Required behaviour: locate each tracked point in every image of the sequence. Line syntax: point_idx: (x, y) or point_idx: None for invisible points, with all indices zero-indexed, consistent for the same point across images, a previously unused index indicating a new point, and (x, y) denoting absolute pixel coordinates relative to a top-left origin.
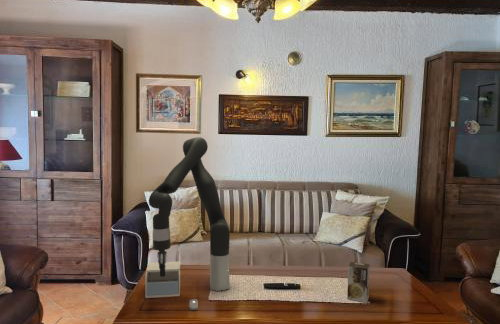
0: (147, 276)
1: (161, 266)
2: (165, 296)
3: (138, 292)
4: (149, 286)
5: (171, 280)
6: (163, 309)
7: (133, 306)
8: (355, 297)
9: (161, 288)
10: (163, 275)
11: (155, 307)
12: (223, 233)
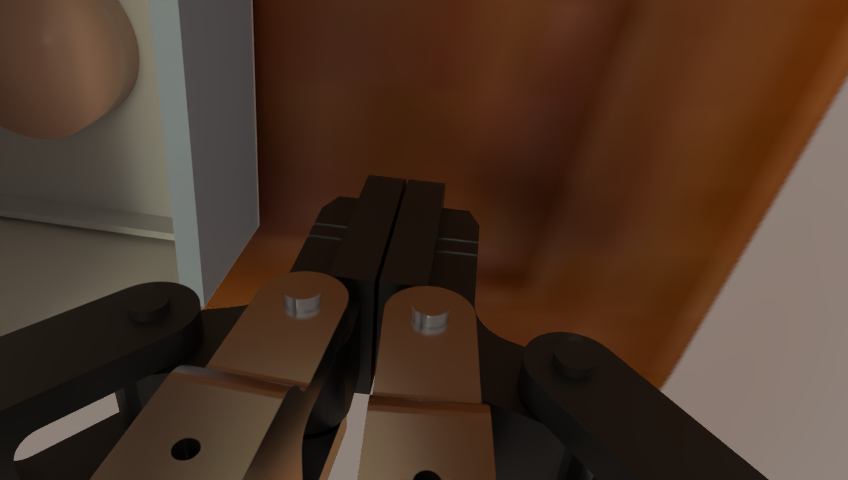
0: (11, 304)
1: (584, 476)
2: (251, 14)
3: None
4: (218, 255)
5: None
6: (591, 61)
7: None
8: None
9: (223, 96)
10: (471, 229)
11: (510, 144)
12: None
